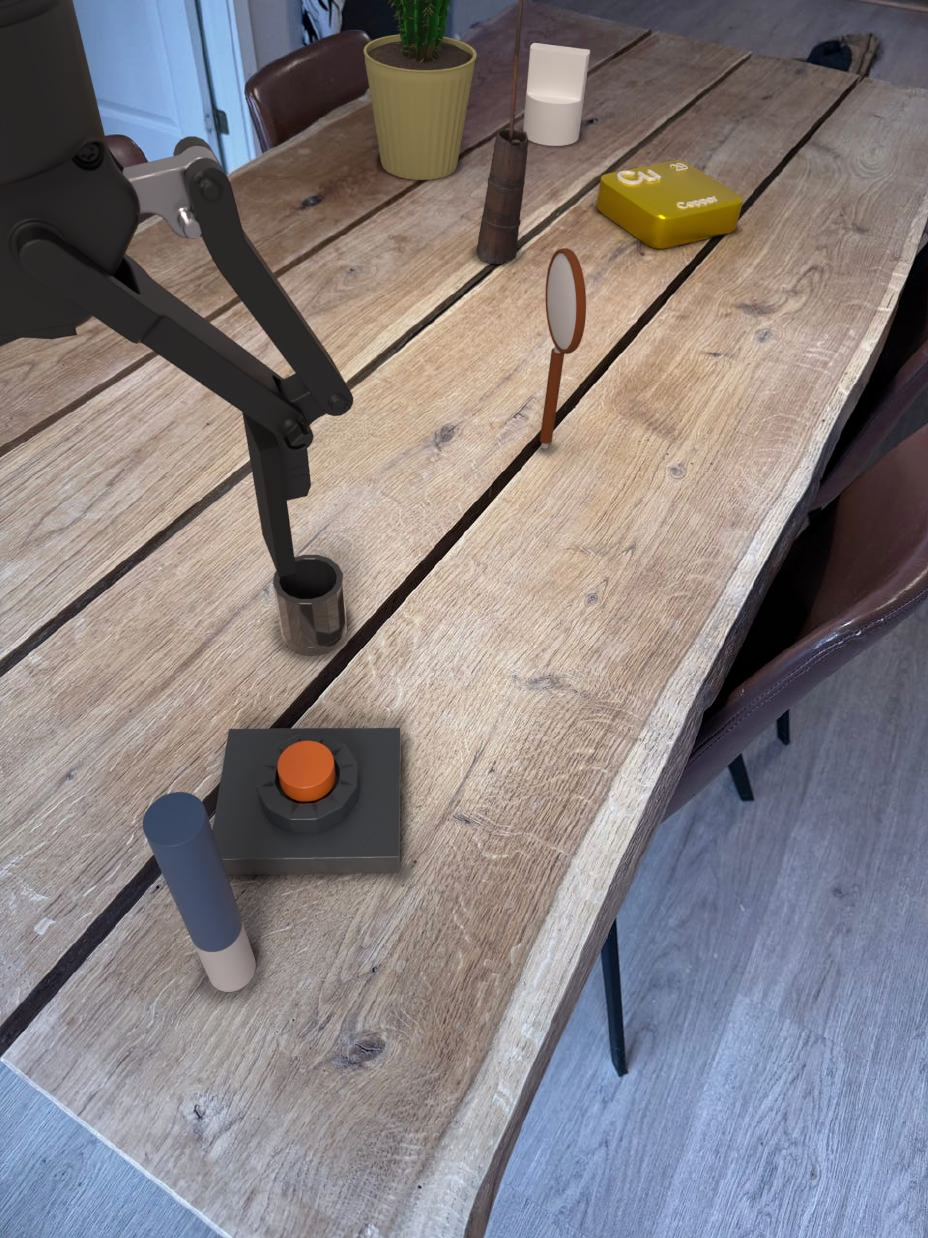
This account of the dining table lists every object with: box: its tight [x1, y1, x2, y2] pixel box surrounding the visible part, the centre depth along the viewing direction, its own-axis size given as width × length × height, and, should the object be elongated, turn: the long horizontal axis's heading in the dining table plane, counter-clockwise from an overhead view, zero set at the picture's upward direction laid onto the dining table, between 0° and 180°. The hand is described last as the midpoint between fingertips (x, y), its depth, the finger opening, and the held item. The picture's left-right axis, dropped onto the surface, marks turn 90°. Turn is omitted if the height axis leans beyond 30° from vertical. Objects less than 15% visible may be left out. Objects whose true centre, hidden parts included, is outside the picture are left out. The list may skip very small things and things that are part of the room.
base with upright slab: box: [522, 42, 591, 147], centre depth 140 cm, size 9×9×12 cm
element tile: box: [596, 159, 744, 250], centre depth 124 cm, size 15×15×5 cm
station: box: [212, 727, 402, 876], centre depth 61 cm, size 12×10×4 cm
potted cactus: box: [363, 0, 477, 181], centre depth 123 cm, size 15×15×30 cm
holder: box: [272, 554, 348, 656], centre depth 70 cm, size 5×5×6 cm
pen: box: [142, 791, 257, 993], centre depth 48 cm, size 3×3×18 cm
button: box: [277, 741, 336, 802], centre depth 59 cm, size 4×4×2 cm
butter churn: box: [476, 0, 530, 265], centre depth 105 cm, size 9×10×28 cm
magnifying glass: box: [539, 247, 587, 450], centre depth 82 cm, size 9×2×20 cm, turn 13°
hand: (115, 594), depth 37 cm, fingers open, 13 cm apart
